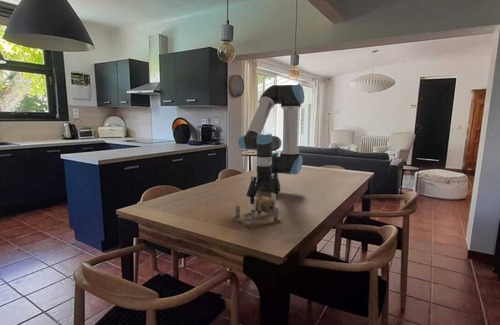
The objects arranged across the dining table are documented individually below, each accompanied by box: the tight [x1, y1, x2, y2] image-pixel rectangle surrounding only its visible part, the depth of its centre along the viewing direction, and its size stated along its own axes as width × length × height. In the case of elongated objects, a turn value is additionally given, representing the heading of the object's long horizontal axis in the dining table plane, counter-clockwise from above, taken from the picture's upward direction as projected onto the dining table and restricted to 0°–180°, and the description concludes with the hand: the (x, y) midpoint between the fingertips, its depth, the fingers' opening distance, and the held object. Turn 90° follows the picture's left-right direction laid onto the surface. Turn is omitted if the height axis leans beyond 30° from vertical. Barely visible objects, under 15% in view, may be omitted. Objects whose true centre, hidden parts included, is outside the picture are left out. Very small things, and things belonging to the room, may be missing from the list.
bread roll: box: [256, 196, 275, 212], centre depth 140 cm, size 10×10×8 cm
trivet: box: [232, 201, 281, 231], centre depth 123 cm, size 15×15×6 cm
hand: (263, 207), depth 141 cm, fingers open, 12 cm apart
